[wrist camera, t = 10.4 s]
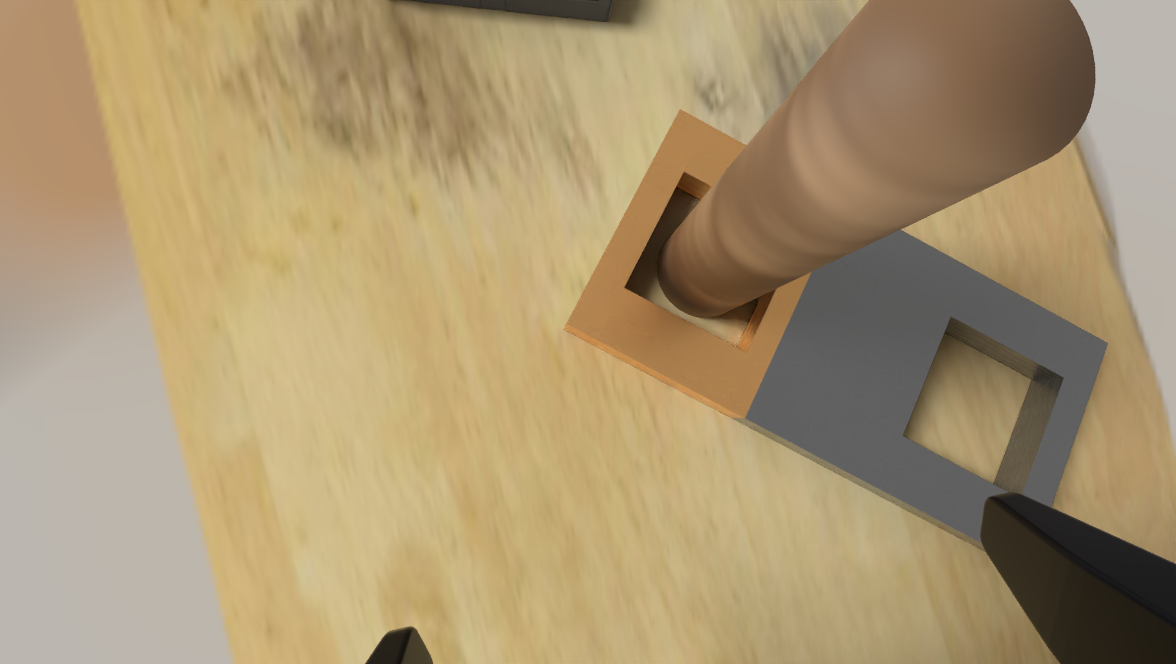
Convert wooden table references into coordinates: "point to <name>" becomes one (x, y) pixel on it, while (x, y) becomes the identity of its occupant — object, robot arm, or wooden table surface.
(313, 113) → the wooden table surface
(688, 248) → the peg
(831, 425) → the rail
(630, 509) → the wooden table surface
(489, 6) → the disk drive
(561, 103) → the wooden table surface
